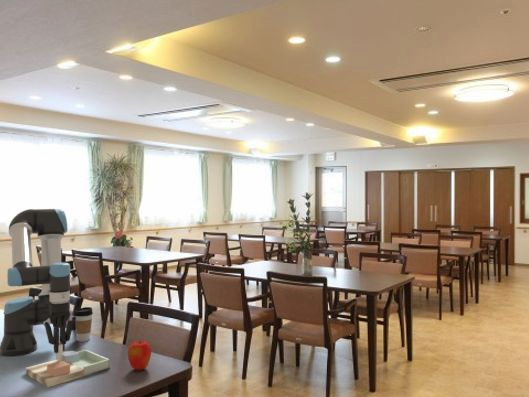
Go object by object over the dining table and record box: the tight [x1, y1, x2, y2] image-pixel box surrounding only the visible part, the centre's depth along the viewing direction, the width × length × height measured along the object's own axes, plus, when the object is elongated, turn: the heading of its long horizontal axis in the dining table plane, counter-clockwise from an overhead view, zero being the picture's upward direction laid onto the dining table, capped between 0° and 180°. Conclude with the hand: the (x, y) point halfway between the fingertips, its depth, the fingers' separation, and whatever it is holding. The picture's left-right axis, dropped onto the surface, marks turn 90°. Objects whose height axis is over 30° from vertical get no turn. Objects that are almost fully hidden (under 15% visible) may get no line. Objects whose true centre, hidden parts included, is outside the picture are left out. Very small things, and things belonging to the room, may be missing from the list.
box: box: [71, 349, 111, 377], centre depth 188 cm, size 19×11×4 cm, turn 50°
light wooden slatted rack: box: [25, 359, 85, 388], centre depth 178 cm, size 19×14×2 cm
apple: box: [127, 340, 152, 371], centre depth 185 cm, size 9×9×12 cm
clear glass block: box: [62, 350, 80, 363], centre depth 188 cm, size 6×6×3 cm
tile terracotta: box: [47, 361, 70, 377], centre depth 175 cm, size 6×6×3 cm
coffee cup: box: [74, 306, 94, 342], centre depth 224 cm, size 8×8×15 cm
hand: (59, 360), depth 185 cm, fingers closed
